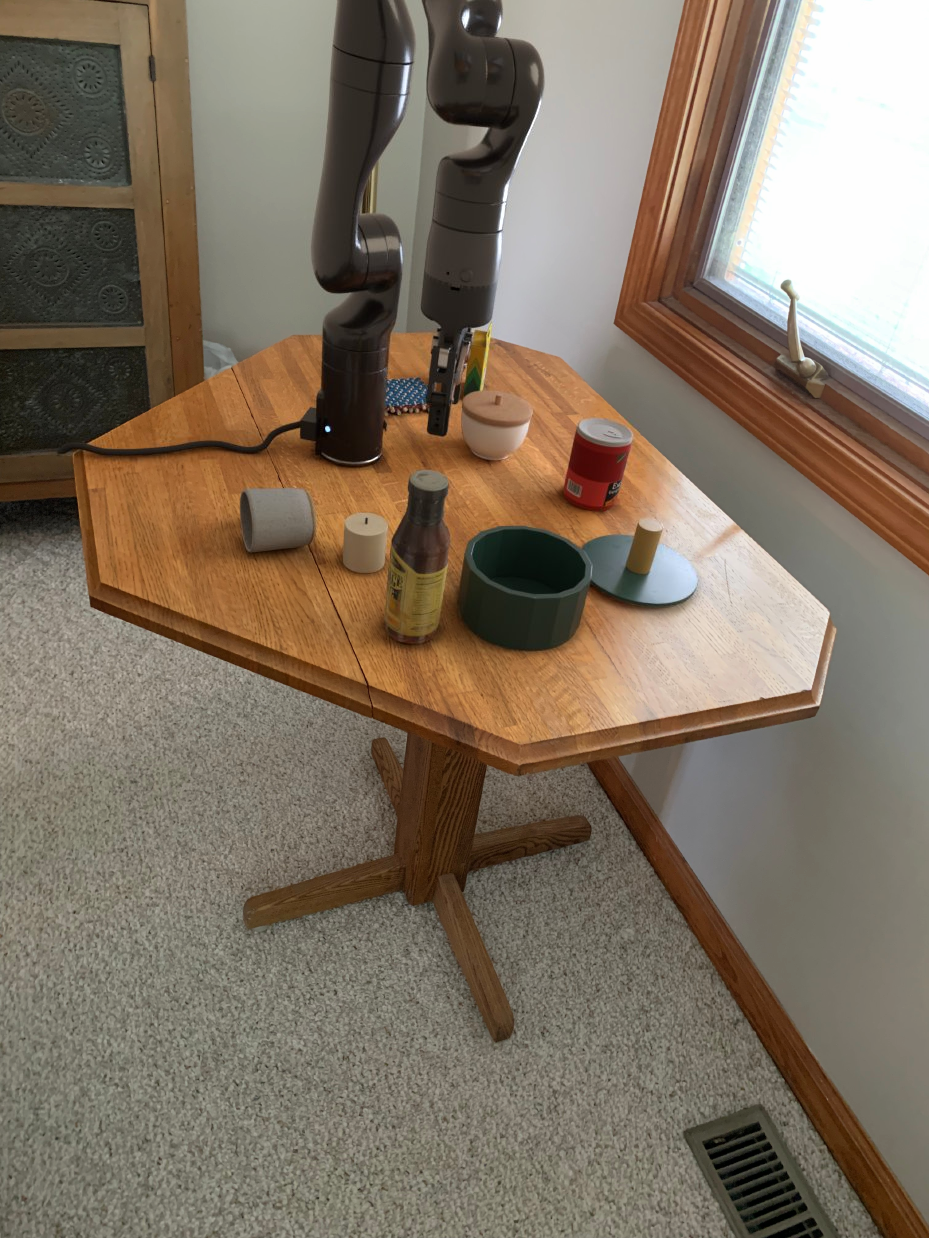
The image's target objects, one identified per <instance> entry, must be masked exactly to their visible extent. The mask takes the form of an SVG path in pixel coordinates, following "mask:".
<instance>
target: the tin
mask: <svg viewBox="0 0 929 1238" xmlns="http://www.w3.org/2000/svg"><path fill="white" fill-rule="evenodd" d="M581 548H582V547H581ZM581 548H580V547H579V546H578V545H577V544H575V543H574V542H573V541H571V540H570V539H569V538H567V537H565V536H563V535H560V534H557V533H555V532H554V531H550V530H548V529H545V528H538V527H534V526H528V525H497V526H494V527H491V528H487V529H484V530H481V531H479V532H478V533H477V534H475V536H473V537H472V538H470V539H468V542H467V545H466V548H465V552H464V554H463V561H462V568H461V574H460V581H459V586H458V587H459V588H458V594H457V600H456V605H457V611H458V614H459V618H460V619H461V620H462V622H463V624H464V625H465V626H466V627H467V628H468V629H469V630H470V631H471V632H472V633H474V634H475V635H477V636H478V637H479V638H480V639H483V640H484V641H486V642H489V643H491V644H492V645H496V646H498V647H502V648H505V649H510V650H515V651H522V652H523V651H524V652H539V651H540V652H541V651H546V650H552V649H554V648H557V647H560V646H561V645H564V644H565V643H567V642H568V641H569V640H571V639H572V638H573V637H574V636H575V634H576V632H577V630H578V629H579V628H580V624H581V620H582V617H583V612H584V609H585V606H586V601H587V598H588V595H589V594H588V593H589V590H590V586H591V584H590V582H591V576H592V564H591V562H590V561H589V559H588V557H587V555H586V554H585V552H584V551H583V550H582V549H581Z"/></svg>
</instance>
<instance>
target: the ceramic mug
mask: <svg viewBox="0 0 929 1238" xmlns="http://www.w3.org/2000/svg"><path fill="white" fill-rule="evenodd" d="M239 516H240V517H239V518H240V519H239V520H240V527H241V529H240V530H241V534H242V535H241V536H242V539H243V542H244V546H245V549H246V550H247V552H248V553H260V552H267V551H269V552H270V551H275V550H283V549H293V548H301V547H304V546H307V545H311V543H313V541H314V540H315V537H316V533H317V513H316V507H315V502H314V499H313V497H312V495H311V493H310V492H309V491H307V490H306V489H302V488H297V487H284V488H283V487H282V488H244V489H243V490H242V491H241V493H240V498H239Z"/></svg>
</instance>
